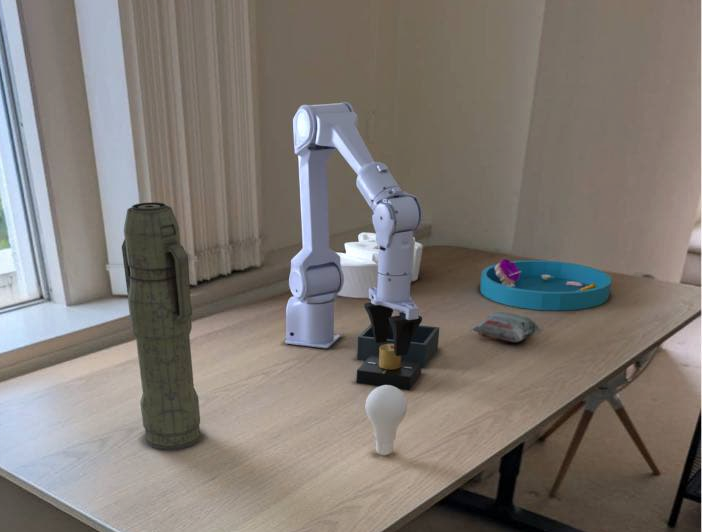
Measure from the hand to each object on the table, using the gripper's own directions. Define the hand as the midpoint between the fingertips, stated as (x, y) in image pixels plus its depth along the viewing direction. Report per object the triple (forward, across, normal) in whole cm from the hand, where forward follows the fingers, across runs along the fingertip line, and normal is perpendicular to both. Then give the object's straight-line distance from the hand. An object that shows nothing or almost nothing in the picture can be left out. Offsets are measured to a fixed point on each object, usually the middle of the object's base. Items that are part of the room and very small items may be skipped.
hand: (390, 348), depth 145 cm
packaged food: (+6, -9, +32) cm, 34 cm away
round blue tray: (+6, -34, +61) cm, 70 cm away
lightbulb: (+6, +27, -16) cm, 32 cm away
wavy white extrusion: (+6, -58, +27) cm, 64 cm away
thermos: (+6, +8, -43) cm, 44 cm away
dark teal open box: (+6, -11, +8) cm, 14 cm away
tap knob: (+3, 0, 0) cm, 3 cm away
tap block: (+6, 0, 0) cm, 6 cm away
